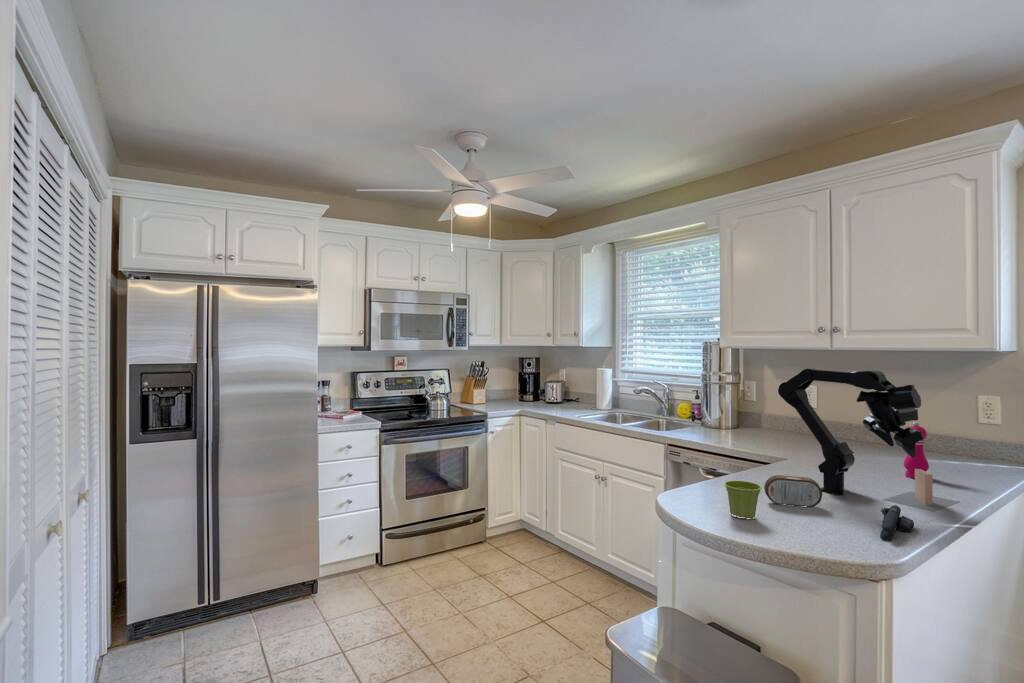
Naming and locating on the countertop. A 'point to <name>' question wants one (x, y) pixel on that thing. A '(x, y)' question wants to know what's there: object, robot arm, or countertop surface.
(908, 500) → the mat
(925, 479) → the tile
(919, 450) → the pepper mill
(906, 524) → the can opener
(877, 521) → the countertop surface
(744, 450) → the countertop surface
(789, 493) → the tin
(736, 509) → the plant pot
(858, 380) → the robot arm
